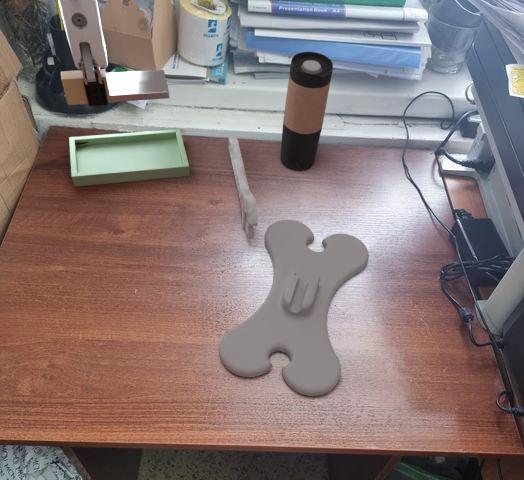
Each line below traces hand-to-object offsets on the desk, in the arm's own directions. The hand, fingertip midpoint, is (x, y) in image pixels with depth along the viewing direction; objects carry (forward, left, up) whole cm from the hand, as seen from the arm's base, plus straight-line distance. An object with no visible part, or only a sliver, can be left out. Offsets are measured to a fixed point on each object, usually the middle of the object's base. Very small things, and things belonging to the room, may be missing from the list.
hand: (97, 98), depth 86 cm
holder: (+12, -45, -15) cm, 49 cm away
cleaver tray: (+4, +1, -15) cm, 16 cm away
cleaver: (+4, +1, 0) cm, 4 cm away
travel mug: (+34, -15, -15) cm, 40 cm away
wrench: (+18, -18, -15) cm, 30 cm away
